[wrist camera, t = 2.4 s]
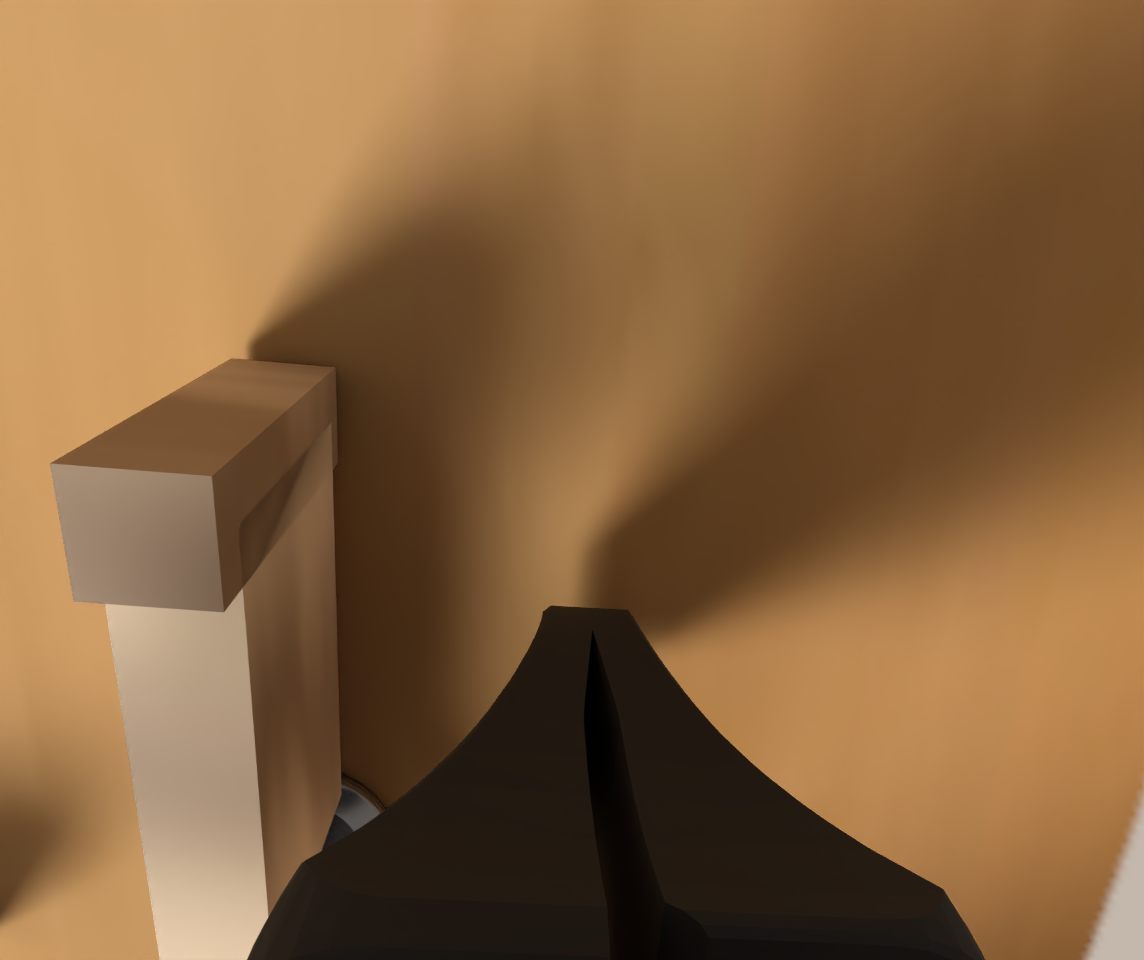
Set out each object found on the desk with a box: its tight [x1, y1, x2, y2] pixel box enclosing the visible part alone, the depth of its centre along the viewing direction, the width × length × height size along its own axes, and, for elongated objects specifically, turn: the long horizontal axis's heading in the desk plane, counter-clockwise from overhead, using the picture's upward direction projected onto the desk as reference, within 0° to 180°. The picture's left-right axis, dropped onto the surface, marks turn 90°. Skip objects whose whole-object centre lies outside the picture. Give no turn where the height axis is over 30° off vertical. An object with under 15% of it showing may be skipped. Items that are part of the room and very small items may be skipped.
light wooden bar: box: [50, 358, 342, 960], centre depth 11 cm, size 8×2×4 cm, turn 175°
